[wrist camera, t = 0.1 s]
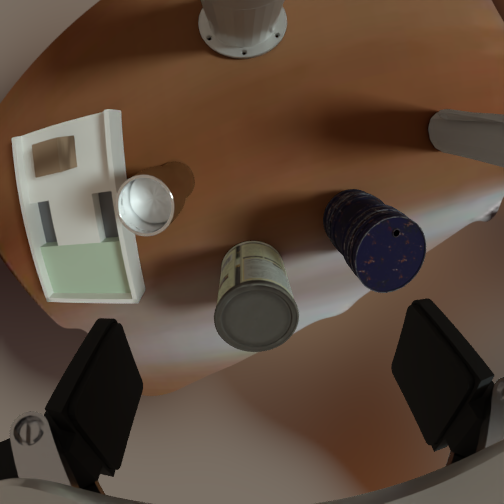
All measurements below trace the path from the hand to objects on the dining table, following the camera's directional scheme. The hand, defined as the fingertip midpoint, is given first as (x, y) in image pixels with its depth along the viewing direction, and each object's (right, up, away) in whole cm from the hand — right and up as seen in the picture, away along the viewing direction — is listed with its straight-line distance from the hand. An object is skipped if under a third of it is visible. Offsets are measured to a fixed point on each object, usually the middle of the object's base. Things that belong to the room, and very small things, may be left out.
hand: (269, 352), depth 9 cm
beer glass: (-12, +14, +34) cm, 38 cm away
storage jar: (+15, +8, +37) cm, 41 cm away
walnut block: (-30, +18, +29) cm, 45 cm away
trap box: (-29, +10, +35) cm, 46 cm away
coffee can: (0, 0, +40) cm, 40 cm away
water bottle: (+31, +24, +31) cm, 50 cm away
